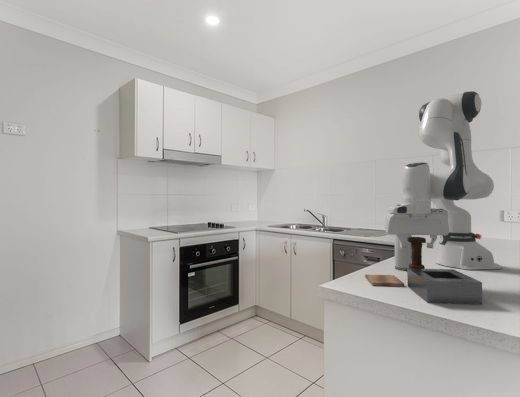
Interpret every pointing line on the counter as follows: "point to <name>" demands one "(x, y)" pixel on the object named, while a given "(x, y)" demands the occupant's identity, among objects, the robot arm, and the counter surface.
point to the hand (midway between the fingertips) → (416, 247)
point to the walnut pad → (384, 280)
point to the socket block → (444, 286)
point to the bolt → (416, 252)
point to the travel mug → (403, 254)
